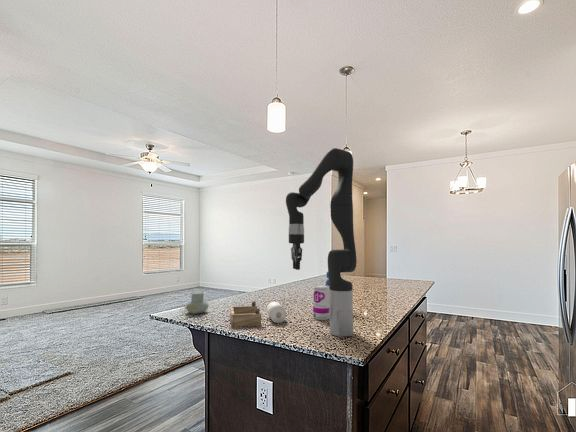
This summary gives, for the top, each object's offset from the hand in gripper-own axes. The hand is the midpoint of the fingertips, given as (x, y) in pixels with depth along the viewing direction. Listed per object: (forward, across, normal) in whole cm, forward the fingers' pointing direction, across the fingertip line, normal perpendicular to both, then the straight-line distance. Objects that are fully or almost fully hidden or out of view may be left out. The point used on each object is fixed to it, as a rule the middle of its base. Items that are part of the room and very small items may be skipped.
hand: (296, 269), depth 150 cm
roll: (+20, 0, +10) cm, 22 cm away
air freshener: (+24, +22, +47) cm, 57 cm away
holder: (+23, 0, +24) cm, 33 cm away
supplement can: (+23, -2, -12) cm, 26 cm away
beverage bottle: (+23, +15, -24) cm, 37 cm away
